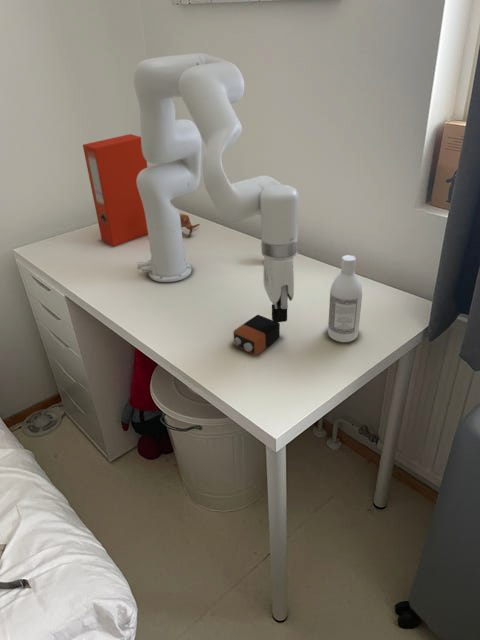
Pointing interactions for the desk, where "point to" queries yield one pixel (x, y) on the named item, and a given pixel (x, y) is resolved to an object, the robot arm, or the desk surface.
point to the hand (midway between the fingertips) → (279, 320)
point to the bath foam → (345, 303)
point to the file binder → (117, 187)
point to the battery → (256, 334)
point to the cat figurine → (187, 223)
